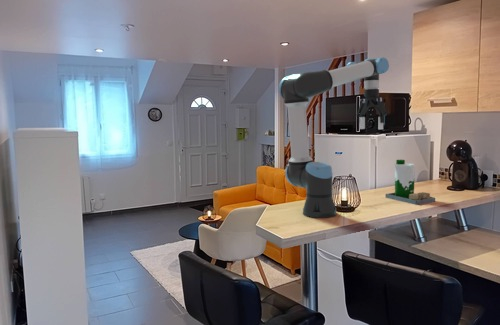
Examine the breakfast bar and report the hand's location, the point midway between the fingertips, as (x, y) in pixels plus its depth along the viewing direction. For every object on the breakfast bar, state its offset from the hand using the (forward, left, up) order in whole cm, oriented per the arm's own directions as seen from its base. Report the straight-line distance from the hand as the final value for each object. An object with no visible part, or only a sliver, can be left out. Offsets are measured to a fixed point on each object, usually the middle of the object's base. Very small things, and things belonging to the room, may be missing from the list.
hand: (371, 129), depth 203 cm
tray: (+9, -18, -37) cm, 42 cm away
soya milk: (+9, -15, -36) cm, 40 cm away
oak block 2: (+12, -25, -36) cm, 45 cm away
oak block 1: (+6, -24, -36) cm, 44 cm away
